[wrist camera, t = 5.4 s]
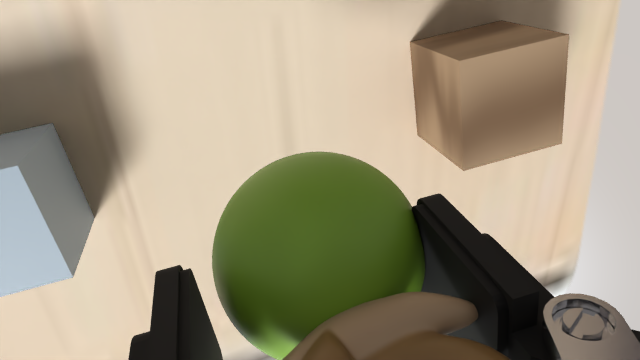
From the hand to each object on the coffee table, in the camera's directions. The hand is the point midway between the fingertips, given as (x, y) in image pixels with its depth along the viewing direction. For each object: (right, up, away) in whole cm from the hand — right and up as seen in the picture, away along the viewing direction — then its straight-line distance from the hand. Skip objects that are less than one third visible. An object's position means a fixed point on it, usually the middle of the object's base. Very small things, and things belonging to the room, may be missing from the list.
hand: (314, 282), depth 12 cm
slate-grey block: (-14, +2, +10) cm, 17 cm away
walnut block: (+7, +8, +13) cm, 17 cm away
